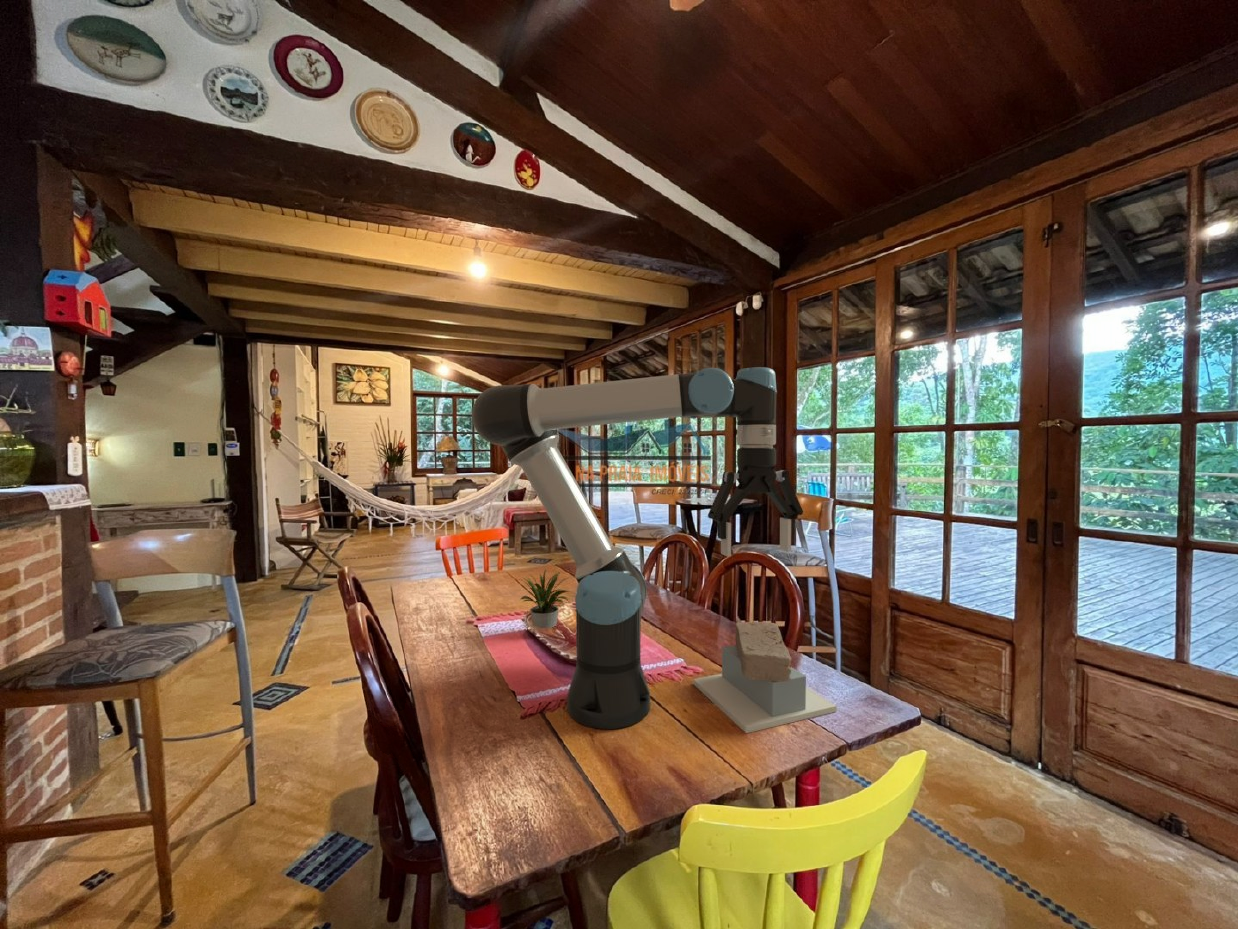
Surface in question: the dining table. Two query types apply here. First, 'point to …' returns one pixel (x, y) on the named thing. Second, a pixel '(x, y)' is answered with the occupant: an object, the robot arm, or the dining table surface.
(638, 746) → the dining table surface
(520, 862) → the dining table surface
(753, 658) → the brick
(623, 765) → the dining table surface
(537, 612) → the house plant
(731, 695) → the tower base
